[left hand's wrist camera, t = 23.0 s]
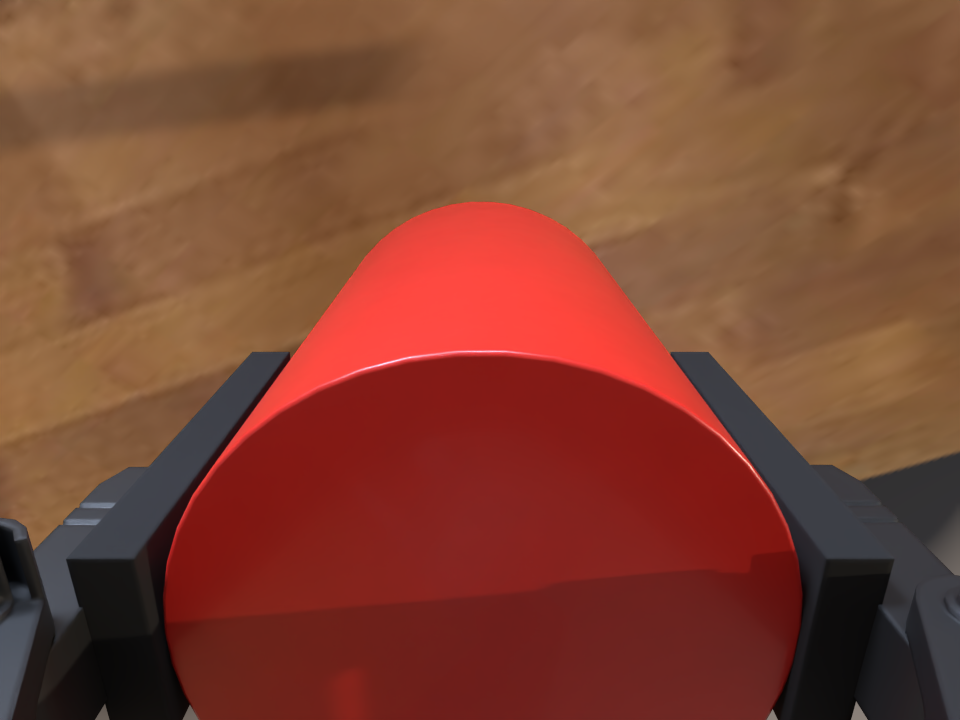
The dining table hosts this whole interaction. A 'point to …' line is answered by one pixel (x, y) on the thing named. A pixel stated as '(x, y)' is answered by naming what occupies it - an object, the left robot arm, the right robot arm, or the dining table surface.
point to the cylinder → (482, 508)
